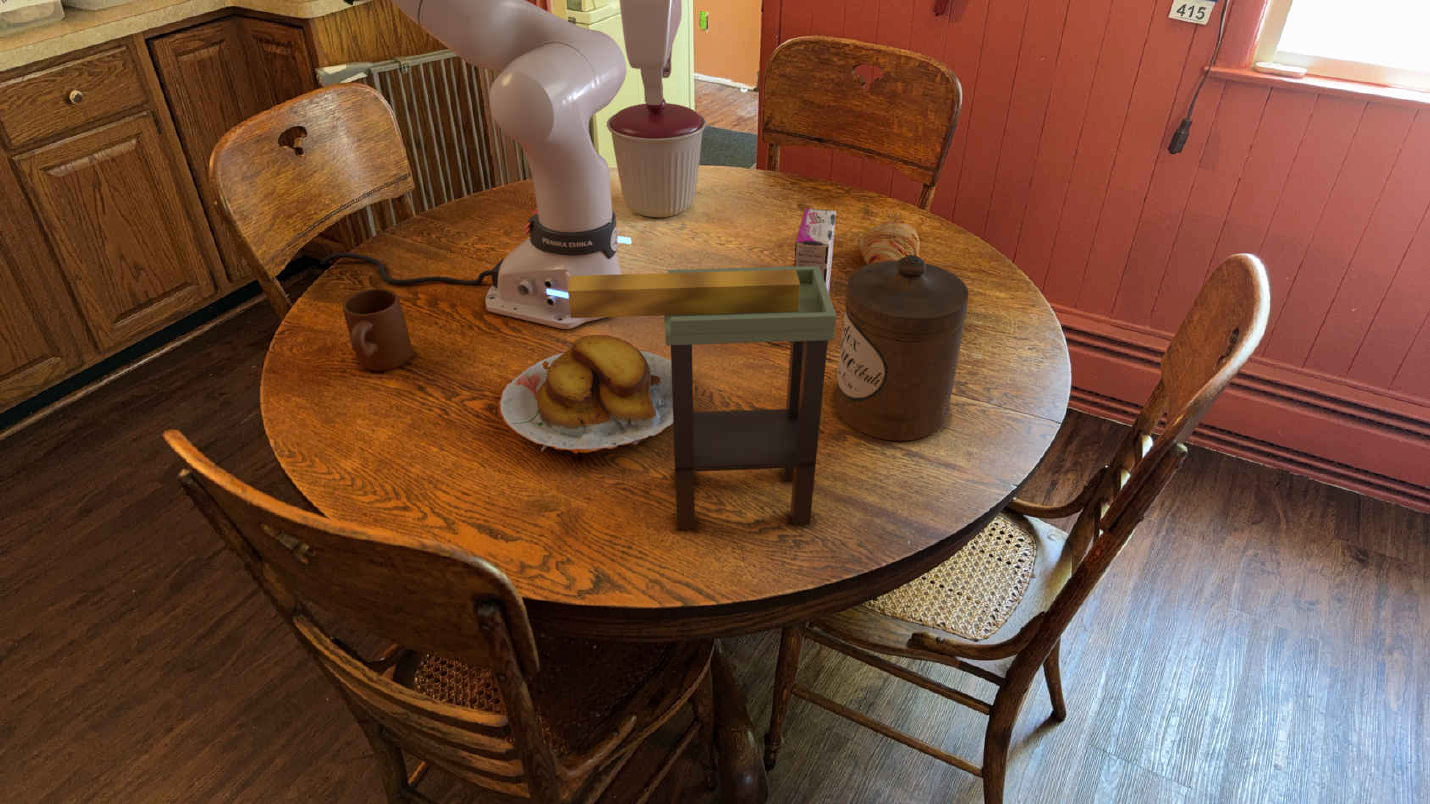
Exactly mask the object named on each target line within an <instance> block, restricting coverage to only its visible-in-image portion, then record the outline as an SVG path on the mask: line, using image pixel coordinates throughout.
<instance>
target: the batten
mask: <svg viewBox="0 0 1430 804" xmlns="http://www.w3.org/2000/svg"><path fill="white" fill-rule="evenodd" d="M799 293H800V282H799V279H798V276H797V272H796V270H765V271H728V272H692V273H668V272H660V273H621V274H619V275H582V276H570V280H569V287H568V297H569V306H570V315H571V318H593V317H605V318H620V317H621V318H623V317H625V318H626V317H654V316H655V317H656V316H657V317H658V316H665V315H693V314H727V313H760V312H794V311H798V307H799Z"/></svg>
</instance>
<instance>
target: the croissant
mask: <svg viewBox="0 0 1430 804" xmlns="http://www.w3.org/2000/svg"><path fill="white" fill-rule="evenodd" d="M920 246H921V245H920V238H919V234H918V232H917V231H916V229H915V228H914V227H913V226H911V225H910V224H907V223H906V222H905V221H904V220H899V219H898V220H897V219H895V220H894V221H887V222H881V223H880V224H877V225H875V226H873V227H872V228H871V229H868V230H867V231H866V233H864V234H863V235H862V236H861V238H860V240H859V250H860V253H862V260H863V261H864V262H865V265H868V264H871V263H875V262H880V261H888V260H900V259H901V258H903V257H906V256H908V255H915V256H918V257H919V258H920V248H921V247H920Z"/></svg>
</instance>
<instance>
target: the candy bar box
mask: <svg viewBox="0 0 1430 804" xmlns="http://www.w3.org/2000/svg"><path fill="white" fill-rule="evenodd" d="M836 218H837V211H836V210H830V209H821V208H820V209H819V208H817V209H815V208H804V209H803V214H802V217H801V221H800V225H799V228H798V232H797V234H796V238H795V241H794V262H793V267H796V266H819V267H820V270H821V273H822V275H823V278H824V281H825V284H826V287H827V290H828V293H829V294H830V287H831V275H832V265H833V254H834V253H833V252H834V241H835V228H836Z"/></svg>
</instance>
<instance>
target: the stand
mask: <svg viewBox="0 0 1430 804" xmlns="http://www.w3.org/2000/svg"><path fill="white" fill-rule="evenodd" d="M765 270H796V272H797V276H798V279H799V282H800V293H799V307H798V311H794V312H760V313H727V314H693V315H664V337H665V339H664V340H665V346H670V360H671V371H672V401H673V423H672V427H673V430H672V431H673V455H674V456H673V457H674V458H673V459H674V461H673V462H674V485H675V511H676V512H675V513H676V530H677V531H690V530H695V529H696V516H695V515H696V513H695V512H696V508H695V506H696V505H695V503H696V501H695V473H696V472H718V471H719V472H720V471H749V470H770V469H771V470H773V469H781V472H782V477H783V480H784V482H792V484H791V485H792V486H791V487H792V488H791V500H790V512H789V514H790V519H791V524H792V526H803V525H804V526H807V525H810V524H811V519H812V509H813V498H814V488H815V478H816V467H817V458H818V457H817V456H818V446H819V435H820V426H821V417H822V416H821V414H822V406H823V395H824V385H825V376H826V364H827V354H828V343H829V341H834V340H835V335H836V334H835V333H836V325H837V314H836V311H835V308H834V305H833V302H832V299H831V296H830V292H829V293H828V290H827V287H826V284H825V281H824V278H823V275H822V273H821V270H820V267H819V266H796V267H794V266H765V267H764V266H763V267H728V268H727V267H726V268H691V269H690V268H689V269H668V270H667V273H692V272H728V271H765ZM782 342H783V343H785V342H790V345H789V361H788V362H789V363H788V374H787V378H788V379H787V392H786V407H785V408H773V409H770V408H769V409H747V410H745V409H744V410H743V409H742V410H720V411H718V410H717V411H714V410H713V411H694V402H693V384H694V381H693V377H694V376H693V375H694V374H693V370H694V369H693V346H694V345H718V344H719V345H720V344H721V345H724V344H753V343H754V344H755V343H756V344H757V343H782Z"/></svg>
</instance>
